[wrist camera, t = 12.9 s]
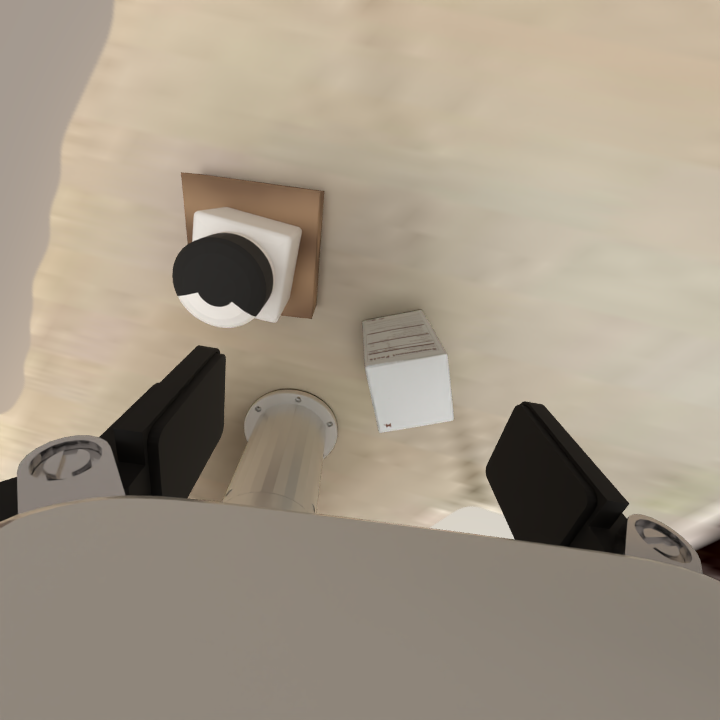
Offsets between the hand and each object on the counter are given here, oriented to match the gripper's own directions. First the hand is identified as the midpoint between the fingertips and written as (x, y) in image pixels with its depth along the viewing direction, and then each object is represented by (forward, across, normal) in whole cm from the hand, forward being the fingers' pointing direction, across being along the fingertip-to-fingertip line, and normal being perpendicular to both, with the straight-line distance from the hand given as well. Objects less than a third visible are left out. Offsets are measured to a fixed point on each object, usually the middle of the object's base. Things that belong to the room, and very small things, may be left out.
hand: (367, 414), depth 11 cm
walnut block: (+30, +10, +1) cm, 32 cm away
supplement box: (+30, -6, +9) cm, 32 cm away
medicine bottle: (+25, +10, +1) cm, 27 cm away
